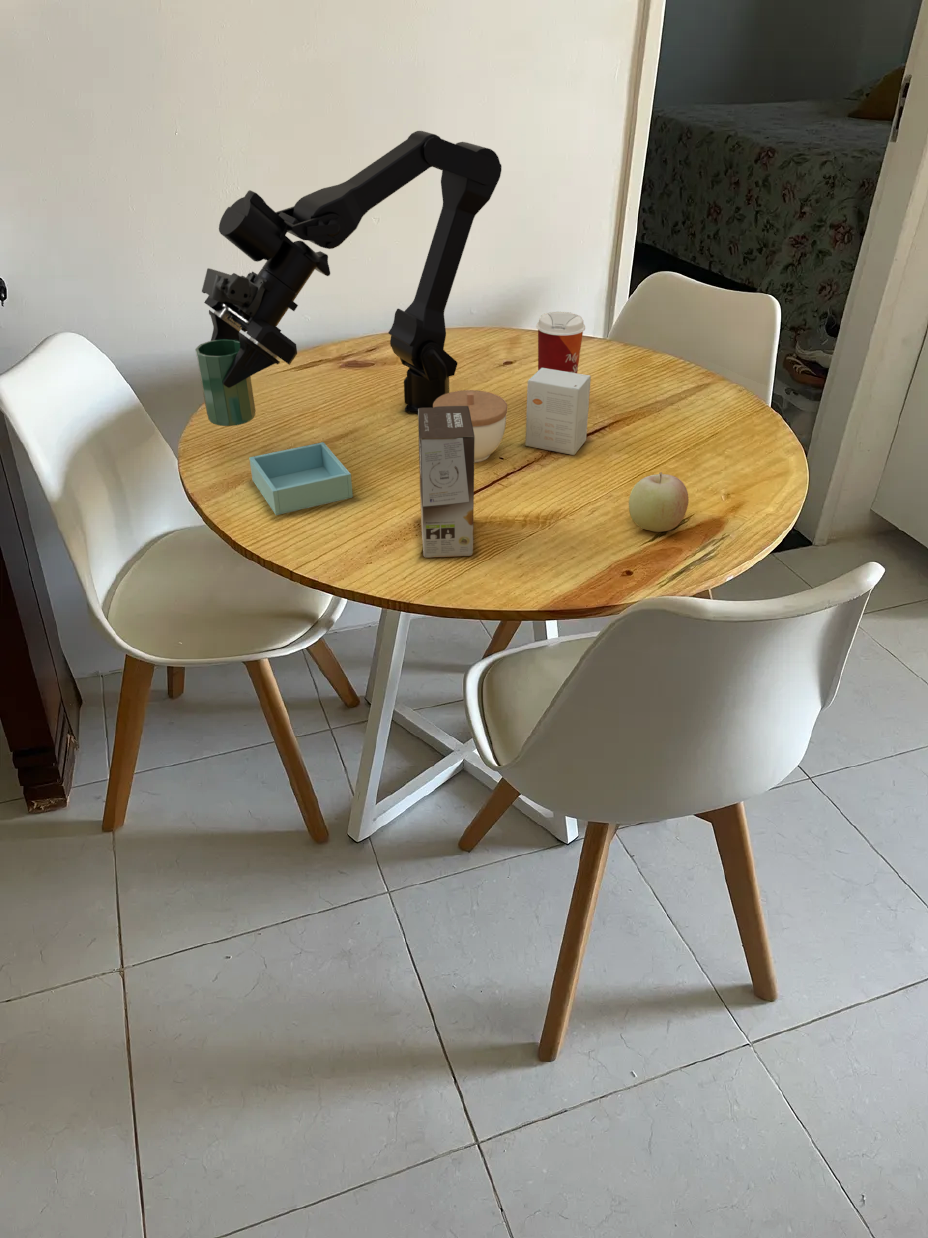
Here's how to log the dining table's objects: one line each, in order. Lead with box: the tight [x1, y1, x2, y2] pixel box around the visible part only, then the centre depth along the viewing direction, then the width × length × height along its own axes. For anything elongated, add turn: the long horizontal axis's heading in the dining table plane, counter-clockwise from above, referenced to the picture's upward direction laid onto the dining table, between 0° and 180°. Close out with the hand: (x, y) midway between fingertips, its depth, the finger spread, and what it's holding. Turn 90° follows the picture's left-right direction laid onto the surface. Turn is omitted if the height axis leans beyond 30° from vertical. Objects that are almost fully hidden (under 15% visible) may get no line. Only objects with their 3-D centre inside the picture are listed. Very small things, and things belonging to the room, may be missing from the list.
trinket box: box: [433, 389, 509, 464], centre depth 134 cm, size 11×11×9 cm
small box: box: [525, 368, 592, 456], centre depth 136 cm, size 8×6×10 cm
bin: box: [248, 441, 354, 516], centre depth 126 cm, size 11×11×4 cm
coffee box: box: [417, 406, 475, 558], centre depth 112 cm, size 9×6×16 cm
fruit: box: [628, 471, 689, 533], centre depth 118 cm, size 8×7×8 cm
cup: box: [194, 339, 256, 427], centre depth 128 cm, size 7×7×10 cm
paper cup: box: [535, 311, 586, 373], centre depth 147 cm, size 8×8×14 cm
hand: (215, 377), depth 127 cm, fingers closed on cup, 7 cm apart
